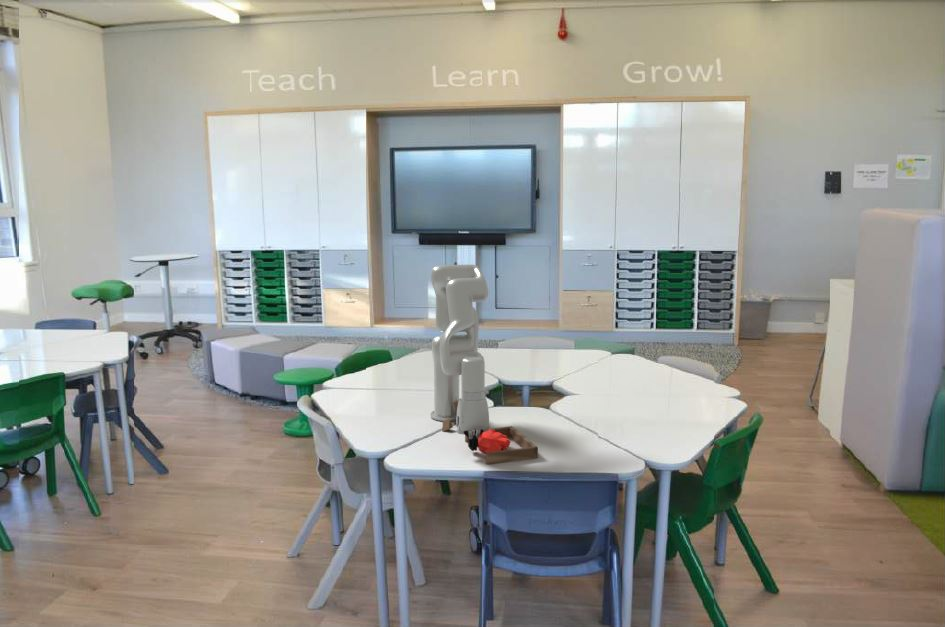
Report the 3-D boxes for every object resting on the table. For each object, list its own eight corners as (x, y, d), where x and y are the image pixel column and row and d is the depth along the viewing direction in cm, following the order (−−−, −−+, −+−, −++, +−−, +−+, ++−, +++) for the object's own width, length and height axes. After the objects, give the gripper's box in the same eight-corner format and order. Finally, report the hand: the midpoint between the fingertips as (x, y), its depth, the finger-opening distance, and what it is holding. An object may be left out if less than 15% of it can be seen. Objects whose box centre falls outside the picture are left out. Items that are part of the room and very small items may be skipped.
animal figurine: (480, 460, 222) (480, 445, 221) (472, 444, 237) (471, 429, 236) (515, 457, 224) (515, 443, 223) (505, 441, 239) (505, 427, 238)
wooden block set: (466, 423, 265) (457, 398, 266) (485, 417, 261) (476, 392, 262) (443, 436, 249) (434, 409, 250) (463, 430, 245) (453, 402, 246)
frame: (465, 441, 239) (465, 431, 238) (511, 435, 244) (511, 426, 244) (487, 464, 218) (487, 453, 218) (537, 457, 224) (537, 447, 223)
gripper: (490, 390, 231) (490, 443, 234) (447, 394, 226) (448, 448, 229) (498, 396, 224) (498, 450, 227) (454, 400, 219) (454, 456, 222)
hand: (473, 449), depth 228 cm, fingers closed
